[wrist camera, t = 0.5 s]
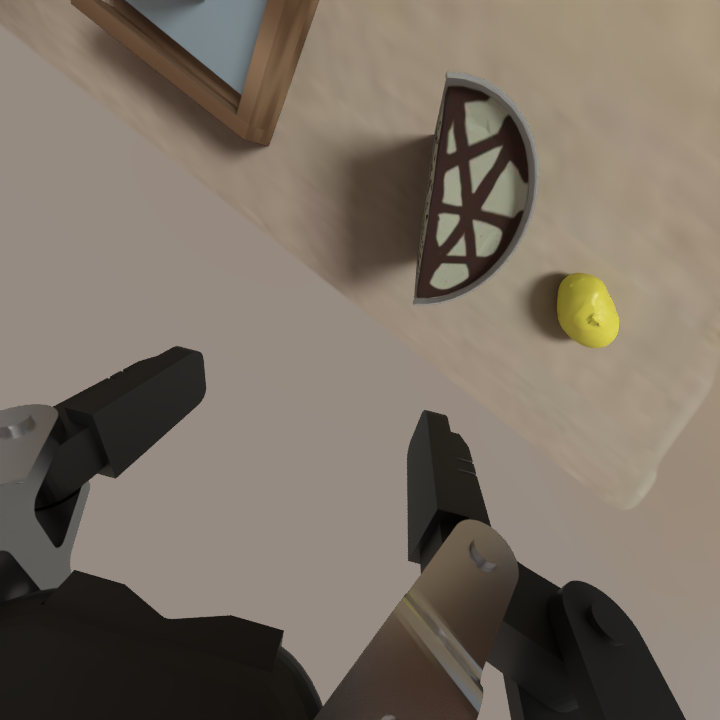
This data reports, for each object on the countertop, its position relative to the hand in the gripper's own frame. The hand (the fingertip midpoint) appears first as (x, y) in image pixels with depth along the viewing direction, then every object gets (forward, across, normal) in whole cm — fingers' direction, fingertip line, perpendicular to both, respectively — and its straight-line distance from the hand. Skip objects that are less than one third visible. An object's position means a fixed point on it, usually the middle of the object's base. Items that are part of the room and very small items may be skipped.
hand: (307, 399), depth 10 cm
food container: (+21, -6, -8) cm, 23 cm away
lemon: (+21, -20, -2) cm, 29 cm away
